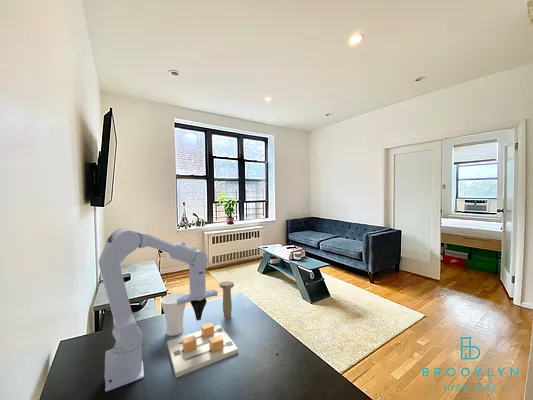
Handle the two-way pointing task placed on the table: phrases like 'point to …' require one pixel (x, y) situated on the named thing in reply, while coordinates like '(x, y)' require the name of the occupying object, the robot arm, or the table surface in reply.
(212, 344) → the orange block
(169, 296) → the cup
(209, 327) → the tab far
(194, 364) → the switch board
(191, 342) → the tab middle
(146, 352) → the table surface
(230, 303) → the handle
